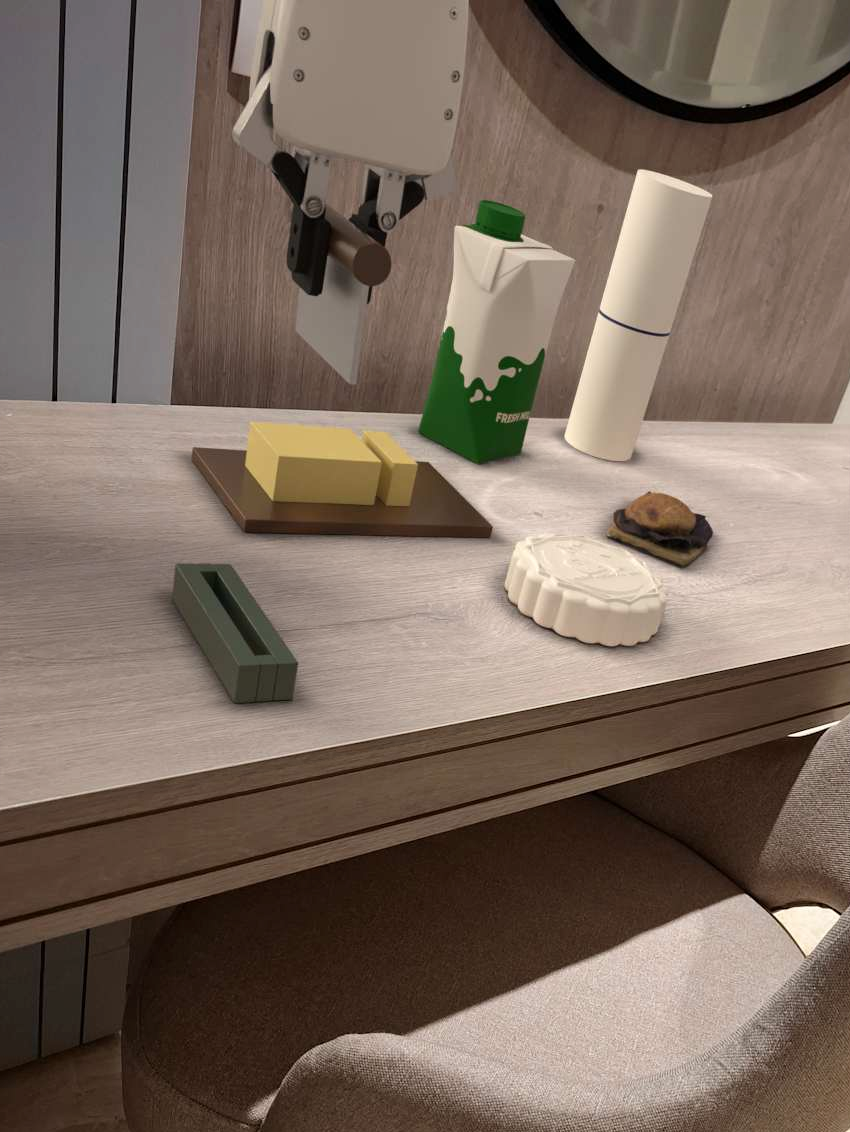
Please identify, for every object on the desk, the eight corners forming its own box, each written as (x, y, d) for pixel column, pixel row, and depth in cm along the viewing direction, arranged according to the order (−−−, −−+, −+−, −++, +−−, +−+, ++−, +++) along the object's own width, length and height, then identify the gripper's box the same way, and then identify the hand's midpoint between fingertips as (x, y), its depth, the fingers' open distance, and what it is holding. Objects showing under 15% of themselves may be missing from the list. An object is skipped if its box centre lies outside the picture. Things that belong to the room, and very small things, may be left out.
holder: (234, 703, 66) (239, 665, 64) (171, 599, 73) (175, 562, 71) (293, 700, 68) (299, 662, 66) (226, 598, 75) (230, 563, 73)
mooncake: (590, 563, 96) (603, 523, 94) (688, 639, 90) (703, 597, 88) (472, 573, 88) (483, 529, 86) (570, 656, 82) (584, 611, 80)
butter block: (272, 501, 86) (278, 455, 84) (244, 465, 89) (250, 421, 87) (374, 505, 90) (382, 462, 88) (343, 471, 94) (350, 428, 92)
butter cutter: (337, 386, 66) (356, 240, 62) (277, 326, 72) (290, 190, 68) (374, 389, 67) (394, 246, 63) (312, 330, 73) (327, 196, 69)
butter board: (244, 532, 83) (245, 519, 82) (191, 459, 90) (192, 446, 89) (490, 537, 94) (493, 526, 94) (426, 472, 102) (428, 461, 101)
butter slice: (386, 505, 91) (394, 462, 89) (355, 472, 95) (362, 429, 93) (409, 506, 92) (418, 464, 90) (378, 473, 96) (386, 431, 94)
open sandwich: (687, 573, 101) (701, 533, 99) (597, 535, 102) (610, 495, 100) (717, 538, 110) (730, 501, 107) (634, 503, 110) (646, 466, 108)
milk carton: (460, 419, 115) (509, 200, 104) (534, 457, 113) (593, 237, 102) (403, 429, 108) (449, 196, 97) (481, 470, 106) (537, 235, 95)
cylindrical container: (555, 441, 118) (628, 170, 105) (576, 426, 124) (649, 168, 111) (620, 467, 118) (703, 198, 104) (639, 450, 124) (719, 194, 110)
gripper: (497, -57, 65) (429, 290, 75) (199, -164, 55) (168, 247, 66) (562, -33, 60) (481, 333, 70) (250, -146, 51) (208, 293, 61)
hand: (330, 289), depth 68 cm, fingers closed on butter cutter, 2 cm apart
